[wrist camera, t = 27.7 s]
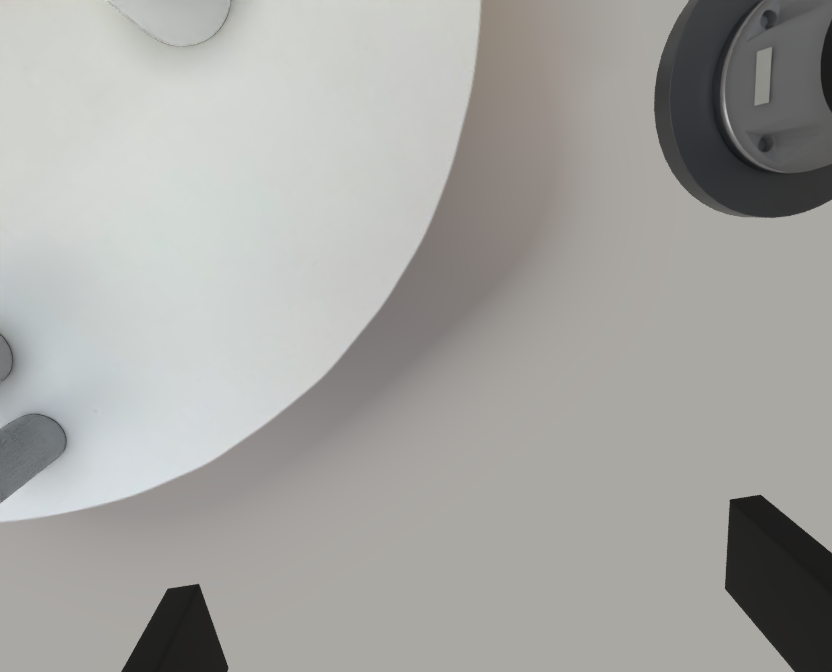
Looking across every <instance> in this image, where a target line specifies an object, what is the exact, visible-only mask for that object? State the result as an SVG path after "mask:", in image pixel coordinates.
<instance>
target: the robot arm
mask: <svg viewBox="0 0 832 672" xmlns="http://www.w3.org/2000/svg"><path fill="white" fill-rule="evenodd" d="M712 100H713V111H714V117H715V121H716V124H717V127H718V130H719V133H720V135H721V137H722V139H723V141H724V142H725V144H726V146H727V147H728V148H729V150H730V151H731V152H732V153H733V154H734V155H735V156H736V157H737V158H738V159H739V160H740V161H741V162H743V163H744V164H746V165H747V166H749V167H751V168H753V169H756V170H758V171H761V172H766V173H771V174H789V173H800V172H807V171H811V170H815V169H818V168H821V167H824V166H827V165H830V164H832V0H759V1H758V2H757V3H755V4H754V5H753V6H752V7H751V8H750V9H749V10H748V11H747V12H746V13H745V14H744V15H743V16H742V18H741V19H740V20H739V21H738V22H737V24H736V25H735V27H734V28H733V30H732V31H731V33H730V35H729V36H728V38H727V40H726V42H725V44H724V46H723V48H722V51H721V53H720V56H719V59H718V62H717V66H716V70H715V74H714V81H713V93H712ZM729 510H730V511H729V526H728V545H727V563H726V580H725V589H726V590H727V592H728V593H729V594H730V595H731V596H732V597H733V599H734V600H735V601H736V602H737V603H738V605H739V606H740V607H741V608H742V609H743V610H744V612H745V613H746V614H747V615H748V616H749V618H750V619H751V620H752V621H753V623H754V624H755V625H756V626H757V627H758V628H759V630H760V631H761V632H762V633H763V634H764V635H765V637H766V638H767V639H768V640H769V642H770V643H771V644H772V645H773V646H774V647H775V648H776V650H777V651H778V652H779V653H780V655H781V656H782V657H783V658H784V659H785V660H786V662H787V663H788V664H789V665H790V667H791V668H792V669H793V670H794V671H795V672H832V553H831V552H830V551H828V550H827V549H826V548H825V547H824V546H822V545H821V544H820V543H819V542H818V541H816V540H815V539H814V538H813V537H811V536H810V535H809V534H808V533H806V532H805V531H804V530H803V529H802V528H800V527H799V526H798V525H797V524H796V523H794V522H793V521H792V520H791V519H790V518H788V517H787V516H786V515H785V514H783V513H782V512H781V511H780V510H779V509H777V508H776V507H775V506H774V505H772V504H771V503H770V502H769V501H767V500H766V499H765V498H764V497H763V496H761V495H757V496H750V497H744V498H738V499H731V500H730V508H729ZM227 671H228V665H227V662H226V660H225V657H224V654H223V651H222V648H221V645H220V643H219V640H218V637H217V634H216V631H215V629H214V626H213V622H212V620H211V617H210V614H209V611H208V608H207V606H206V603H205V600H204V597H203V594H202V591H201V588H200V586H199V584H195V585H189V586H183V587H177V588H170V589H167V591H166V593H165V595H164V597H163V598H162V600H161V602H160V604H159V605H158V607H157V609H156V611H155V613H154V614H153V616H152V618H151V620H150V622H149V623H148V625H147V627H146V629H145V631H144V632H143V634H142V636H141V638H140V639H139V641H138V643H137V645H136V647H135V648H134V650H133V652H132V654H131V656H130V657H129V659H128V661H127V663H126V665H125V666H124V668H123V670H122V672H227Z"/></svg>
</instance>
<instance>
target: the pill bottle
mask: <svg viewBox="0 0 832 672" xmlns="http://www.w3.org/2000/svg"><path fill="white" fill-rule="evenodd" d="M105 1H106V2H108V3H109V4H110V5H111V6H113V7H114V8H115V9H116V10H118V11H119V12H120V13H121V14H123V15H124V16H125V17H126V18H128V19H129V20H130V21H132V22H133V23H134V24H135V25H137V26H138V27H139V28H140V29H142V30H143V31H144V32H146V33H147V34H148V35H149V36H151V37H153V38H155V39H157V40H159V41H160V42H163V43H166V44H170V45H174V46H191V45H196V44H198V43H201V42H204V41H206V40H207V39H209V38H210V37H212V36H213V35H214V34H215V33H216V32H217V31H218V30H219V29H220V28H221V26H222V24H223V23H224V21H225V19H226V17H227V14H228V11H229V8H230V2H231V0H105Z"/></svg>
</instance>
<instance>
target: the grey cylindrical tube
mask: <svg viewBox="0 0 832 672" xmlns="http://www.w3.org/2000/svg"><path fill="white" fill-rule="evenodd" d="M65 445H66V439H65V435H64V432H63V430H62V429H61V427H60V426H59V425H58V424H57V423H56V422H55V421H53V420H52V419H50V418H48V417H45V416H42V415H36V414H31V415H25V416H22V417H20V418H18V419H16V420H14V421H12V422H11V423H9V424H7V425H6V426H4V427H2V428H1V429H0V503H1V502H2V501H4V500H5V499H6V498H8V497H9V496H10V495H11V494H13V493H14V492H15V491H16V490H18V489H19V488H20V487H21V486H23V485H24V484H25V483H26V482H28V481H29V480H30V479H32V478H33V477H34V476H35V475H37V474H38V473H39V472H40V471H42V470H43V469H44V468H45V467H47V466H48V465H49V464H50V463H52V462H53V461H54V460H55V459H57V458H58V457H59V456H60V455H61V454H62V452H63V451H64V448H65Z"/></svg>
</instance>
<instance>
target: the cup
mask: <svg viewBox="0 0 832 672" xmlns="http://www.w3.org/2000/svg"><path fill="white" fill-rule="evenodd" d="M11 366H12V355H11V352H10V349H9V346H8V345H7V343H6V342H5V340H4V339H3V338H2V337H1V336H0V383H1V382H2V381H3V380H4V379H5V378H6V377H7V376H8V374H9V373H10V370H11Z"/></svg>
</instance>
